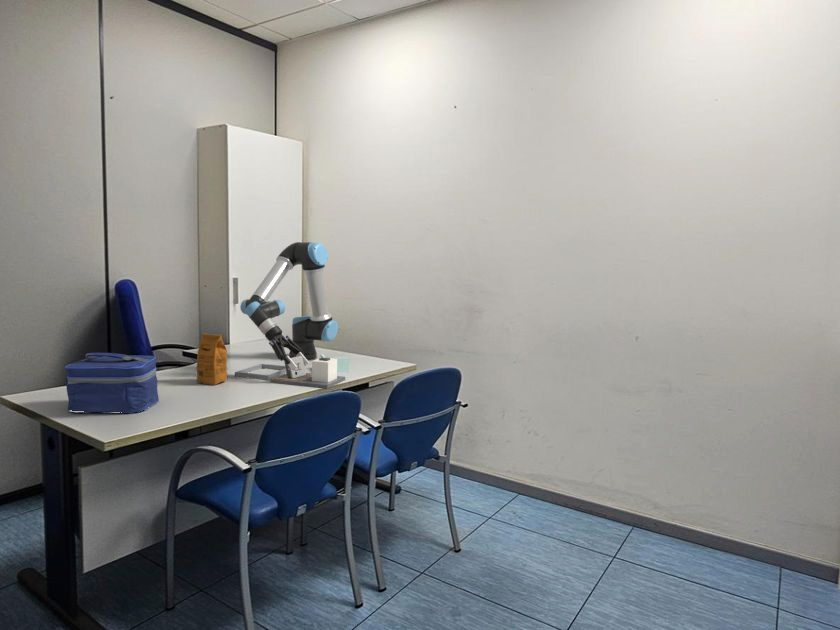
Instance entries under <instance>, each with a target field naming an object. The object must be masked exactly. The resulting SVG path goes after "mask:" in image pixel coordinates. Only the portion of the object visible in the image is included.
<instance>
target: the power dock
mask: <svg viewBox="0 0 840 630" xmlns="http://www.w3.org/2000/svg"><path fill="white" fill-rule="evenodd" d="M331 358H332V357H326V358H324V357H322V358H321V357H320V358H316V359H314V360H312V361H311V372H310V373H309V372H306V375H304V376H301V377H297V378H293V379H292V378H291V377H289V378H288V376H287V373H286V374H283V375H280V376H277V377H275V378H272V379H270V383H271V384H283V385H291V386H292V385H293V386H300V387H309V388H310V387H311V388H319V389H330V388H332V387H333V386H335V385H337V384H340V383H341V382H344V381H346V376H341V375H339V376H338V373H337V359H331Z"/></svg>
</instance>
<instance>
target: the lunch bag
mask: <svg viewBox="0 0 840 630" xmlns="http://www.w3.org/2000/svg"><path fill="white" fill-rule="evenodd" d="M156 364H157V358H156V356H155V355H139V354H138V355H134V354H133V355H127V354H122V353H115V352H90V353H89V352H88V353H85V358H84V359H81V360H78V361H74V362H73V363H70V364H68V365H65V366H64V368H65V370H64V371H65V375H66V376H65V377H66V378H65V382H64V384H65V386H66V393H67V394H66V395H67V398H68V405H67V406H68V407H67V411H68V410H72V411H84V412H120V413H121V412H122V413H130V414H135V413H134V412H138V413H141V412H144V411H146V410H148V409H149V408H151V407H153V404H154V405H156V403H158V402H159V401H160V400H159V399H160V397H159V393H158V392H159V391H158V377H157V366H156ZM150 406H151V407H150ZM148 407H149V408H148ZM147 408H148V409H147ZM145 409H146V410H145ZM143 410H144V411H143ZM140 411H141V412H140Z"/></svg>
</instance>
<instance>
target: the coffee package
mask: <svg viewBox="0 0 840 630" xmlns="http://www.w3.org/2000/svg"><path fill="white" fill-rule="evenodd" d="M223 337H224V336H223V334H209V333H205V332H203V333H202V335H201V338H200V342H199V345H198V349H197V357H196V383H197V382H199V383H198V384H204V385H206V384H209V385H208V386H216V385H218V384H219V383H224V382H227V381H228V377H227V376H228V372H227V370H228V368H227V367H228V357H227V355H228V349H227V348H226V345H225V342H224V341H223Z"/></svg>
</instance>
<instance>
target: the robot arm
mask: <svg viewBox="0 0 840 630" xmlns="http://www.w3.org/2000/svg"><path fill="white" fill-rule="evenodd" d="M328 258H329V254H328V251H327V248H326V247H325V246H324V245H323V244H322V243H320V242H315V241H309V242H307V241H306V242H305V241H304V242H303V241H302V242H300V241H296V242H293V243H292V244H290V245H288V246H286V248H284V249H283V250H282V251H281V252H280V254H279V255H278V256H277V257H276V261H275V263H274V264H273V266H272V268H271V269H270V270H269V271H268V273H267V274H266V275H265V277H264V279H263V280H262V281H261V283H260V284H259V286H258V287H257V288H256V290H255V291H254V292H253V294H252V295H251V297H250V298H248V299H247V298H246V299H243V300H242V301H241V302H240V307H239V308H240V311H241V313H243V314H244V315H247V317H248V318H249V319H250V321H252V323H254V325H255V326H256V327H257V328H258V329H259V331H260V332H261V333H262V334H263V335H264V337H265V338H266V340H268V344H269V346H270V347H272V348H271V349H272V350H273V352H274V354H275V356H276V357H277V358H278V360H280V361H281V362H282V361H283V362H284V361H285V362H286V364H287V365H288V366H289V367H290V368H291V370H292V371H293V370H294V369H295V368H296V367H297V366H296V365H295V363H294V362H293V361H292V360H291V359H290V358H293V357H298V356H302V358H303V362H304V367H306V366H307V365H308V364H309V363H310V362H309V360H312V358H313V359H315V358H316V359H317V358H318V357H317V356H318V353H317V350H316V347H315V344H314V343H315V341H318V342H319V341H320V342H332V341H334V339H335V338H336V336H337V334H338V331H339V325H338V322H337V321H336V320H333V315H332V314H331V313H330V312H329V307H328V300H327V293H326V292H327V291H326V287H325V279H324V273H323V270H324V268H325V267H326V264H327V262H328ZM297 265H301V268H302V271H303V272H305V273H306V274H305V275H306V281H307V290H308V294H309V301H310V302H309V303H310V307H311V312H312V313H311V314H312V315H302V316H295V317H293V318H292V325H291V329H292V332H291V333H292V337H291V338H292V339H291V338H290V337H289V335H286V336H284V335H283V334H282V333H283V330H282V329H281V328H280V326H278V324H277V322H275V321H274V319H273V318H276V317H279V316H281V315H283V314H284V313H285V311H286V306H285V303H284V302H283V301H282V300H281V299H274V300H271V301H270V300H269V299H270V297H271V296H272V295H273V293H274V292H275V291H276V289H277V288H278V287H279V285H280V284H281V282H282V281H283V279H284V278H285V276H286V275H287V273H288V272H289V271H291V270H292V269H293V268H294V267H295V266H297ZM285 348H286V349H288V350H289V353H288V355H287V354H286V351H285Z"/></svg>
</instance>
